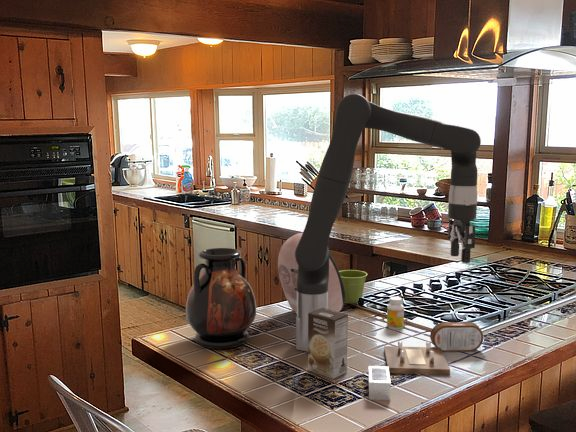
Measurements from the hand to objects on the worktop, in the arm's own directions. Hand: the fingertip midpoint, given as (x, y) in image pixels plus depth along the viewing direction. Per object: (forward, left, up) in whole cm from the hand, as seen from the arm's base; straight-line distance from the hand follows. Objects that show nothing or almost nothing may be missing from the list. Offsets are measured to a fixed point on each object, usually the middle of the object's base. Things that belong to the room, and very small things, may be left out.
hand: (459, 259), depth 164 cm
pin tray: (-13, -7, -28) cm, 31 cm away
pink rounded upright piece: (-44, +31, -28) cm, 60 cm away
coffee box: (-36, -15, -28) cm, 48 cm away
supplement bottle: (-16, +23, -28) cm, 39 cm away
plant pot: (-30, +50, -28) cm, 64 cm away
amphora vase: (-70, +6, -28) cm, 75 cm away
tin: (0, +3, -28) cm, 28 cm away
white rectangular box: (-24, -26, -28) cm, 45 cm away
